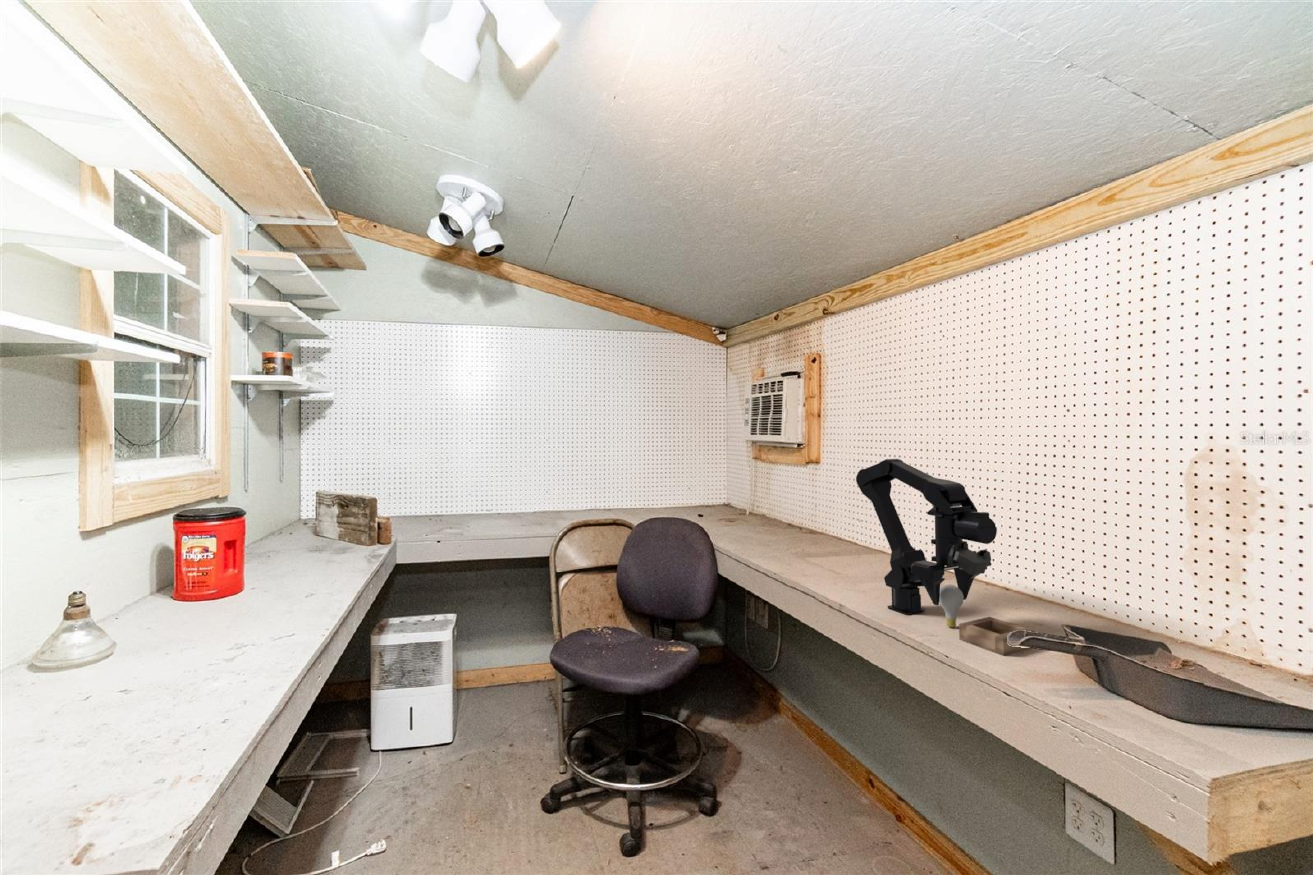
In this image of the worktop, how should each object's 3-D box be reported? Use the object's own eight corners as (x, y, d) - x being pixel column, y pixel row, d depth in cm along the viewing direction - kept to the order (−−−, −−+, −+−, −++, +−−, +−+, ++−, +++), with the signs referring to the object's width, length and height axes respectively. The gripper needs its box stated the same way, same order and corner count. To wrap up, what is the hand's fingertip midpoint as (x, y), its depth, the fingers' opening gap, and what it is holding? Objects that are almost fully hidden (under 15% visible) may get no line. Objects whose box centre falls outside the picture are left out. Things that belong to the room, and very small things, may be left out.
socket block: (959, 639, 121) (959, 623, 121) (989, 631, 125) (989, 616, 125) (1003, 655, 112) (1003, 638, 112) (1034, 646, 116) (1034, 630, 116)
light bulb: (934, 627, 129) (933, 585, 129) (942, 621, 133) (941, 580, 133) (960, 633, 125) (959, 589, 125) (967, 626, 129) (966, 584, 129)
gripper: (951, 546, 118) (952, 618, 118) (1008, 537, 125) (1010, 605, 125) (908, 538, 128) (910, 604, 128) (964, 530, 135) (965, 593, 135)
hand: (950, 602), depth 129 cm, fingers open, 9 cm apart
